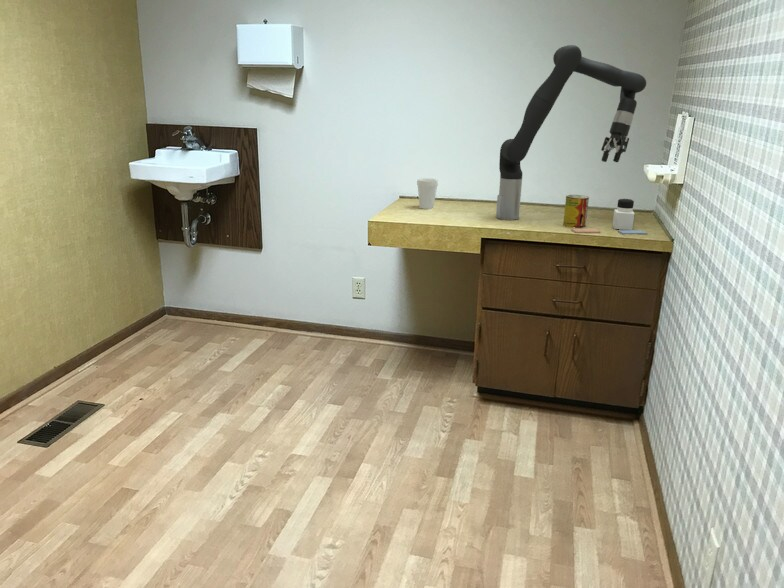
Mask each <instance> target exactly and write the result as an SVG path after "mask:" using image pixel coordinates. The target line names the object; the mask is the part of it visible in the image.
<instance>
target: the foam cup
mask: <svg viewBox="0 0 784 588" xmlns="http://www.w3.org/2000/svg"><path fill="white" fill-rule="evenodd" d="M438 182H439V180H438V179H436V178H426V177H425V178H423V177H421V178H417V181H416V184H417V193H418V202H419V203H418V204H419V209H421V208H423V209H422V210H433V209H434V207H435V201H436V196H437V195H436V193H437V189H438V185H439V184H438ZM432 208H433V209H432Z"/></svg>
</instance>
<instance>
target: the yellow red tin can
mask: <svg viewBox="0 0 784 588" xmlns="http://www.w3.org/2000/svg"><path fill="white" fill-rule="evenodd" d="M589 199H590V197H589V196H588V195H582V194H566V195H565V205H564V213H563V214H564V215H563V222H562V223H563V226H564V225H565V226H564V227H567V226H568V227H567V228H573V227H575V228H574V229H584V228H585V227H586V226H587V220H588V219H587V216H588V208H589V202H590V200H589Z"/></svg>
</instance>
